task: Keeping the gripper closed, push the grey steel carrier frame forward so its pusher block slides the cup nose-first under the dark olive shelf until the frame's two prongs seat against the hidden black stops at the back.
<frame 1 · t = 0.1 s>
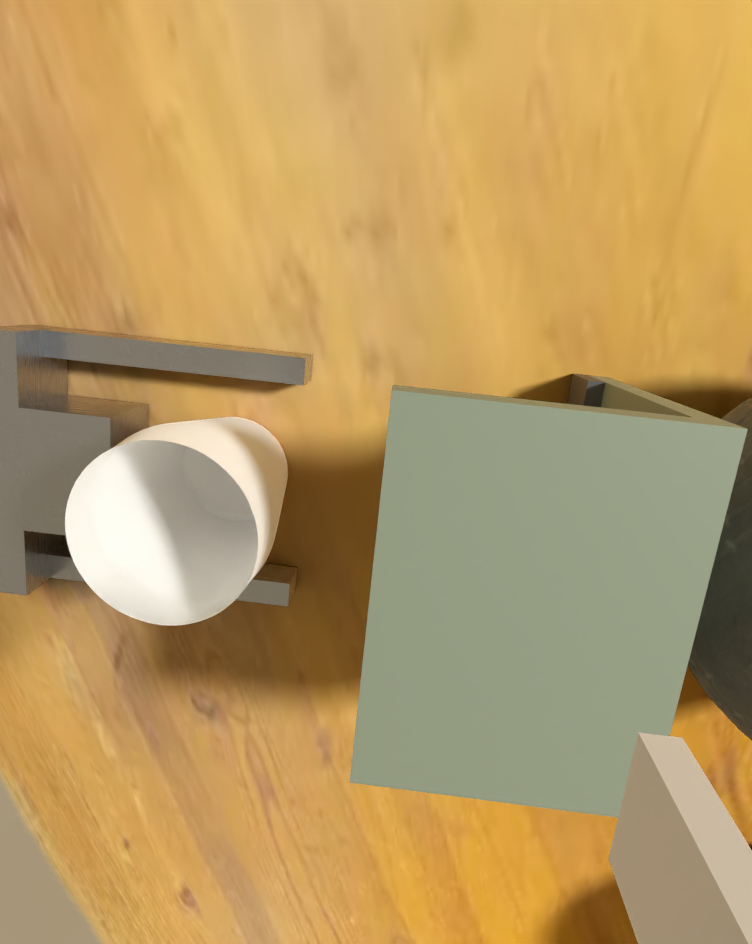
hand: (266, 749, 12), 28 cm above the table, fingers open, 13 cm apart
cup: (236, 468, 40), on the table
frame: (153, 472, 37), point 3 cm above the table, slide at 0.0 cm
shelf: (477, 496, 39), on the table
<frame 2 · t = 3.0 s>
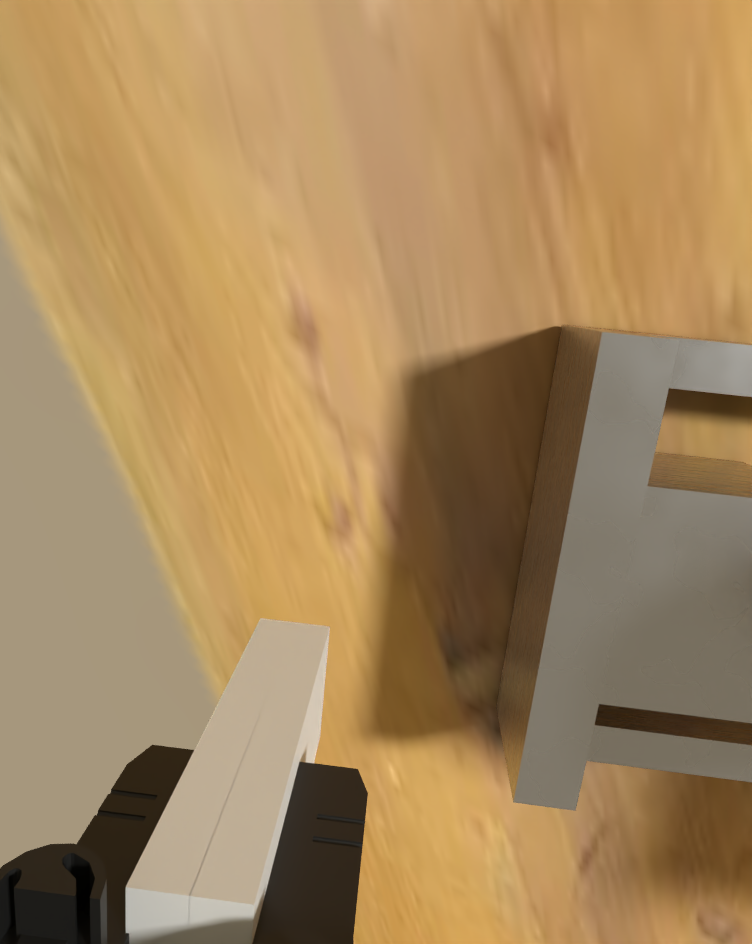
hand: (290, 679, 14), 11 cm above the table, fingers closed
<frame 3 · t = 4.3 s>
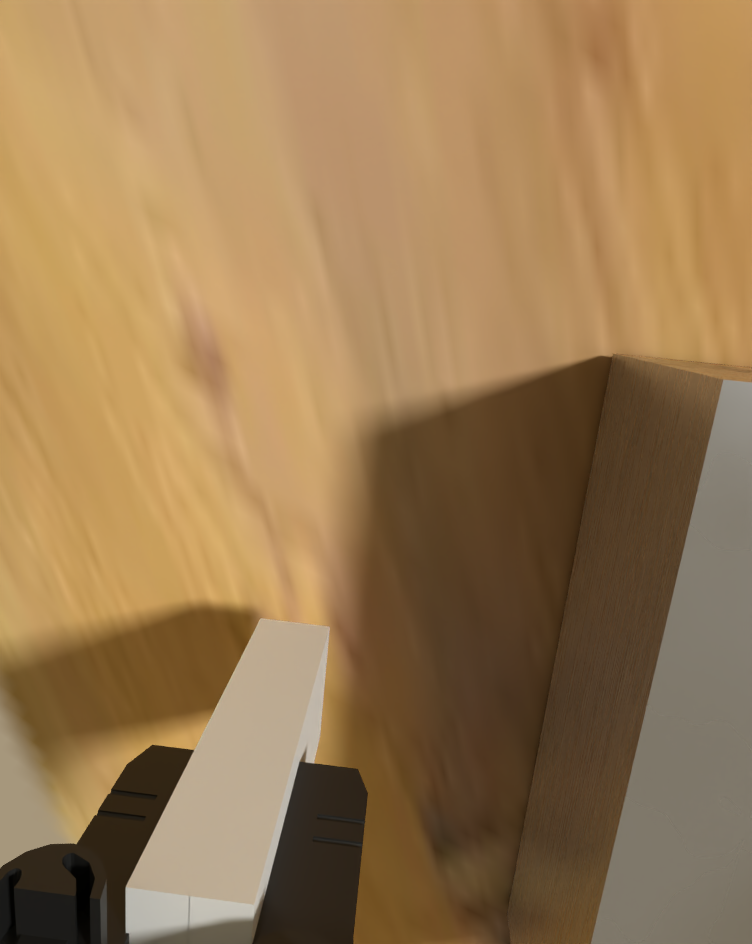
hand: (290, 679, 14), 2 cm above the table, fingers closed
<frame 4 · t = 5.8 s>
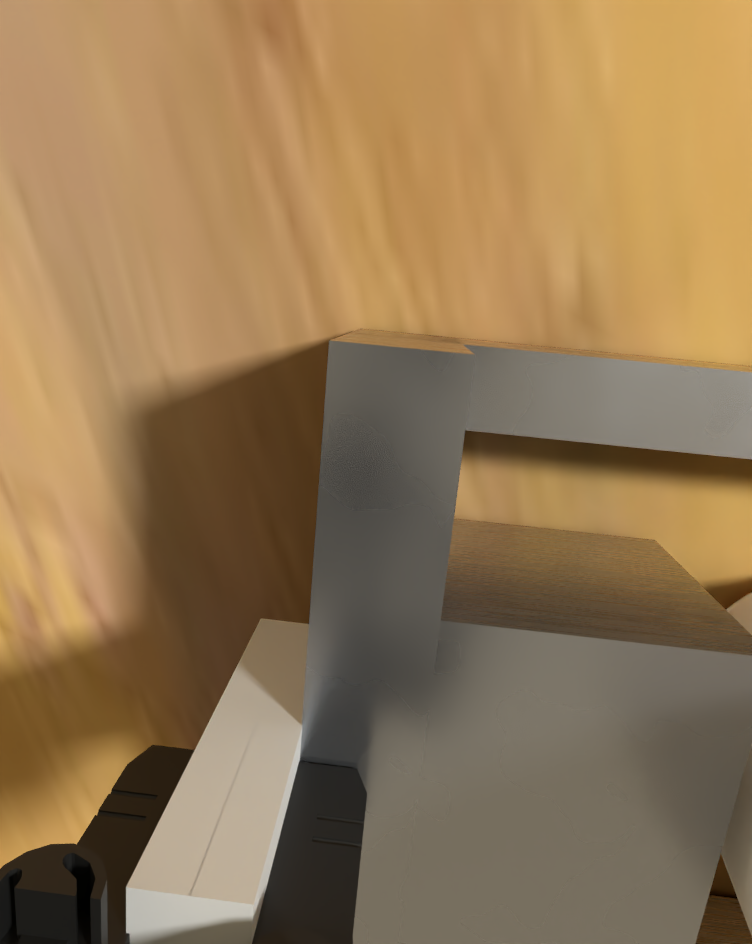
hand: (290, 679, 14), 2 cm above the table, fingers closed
frame: (735, 755, 13), point 3 cm above the table, slide at 1.0 cm, touching gripper
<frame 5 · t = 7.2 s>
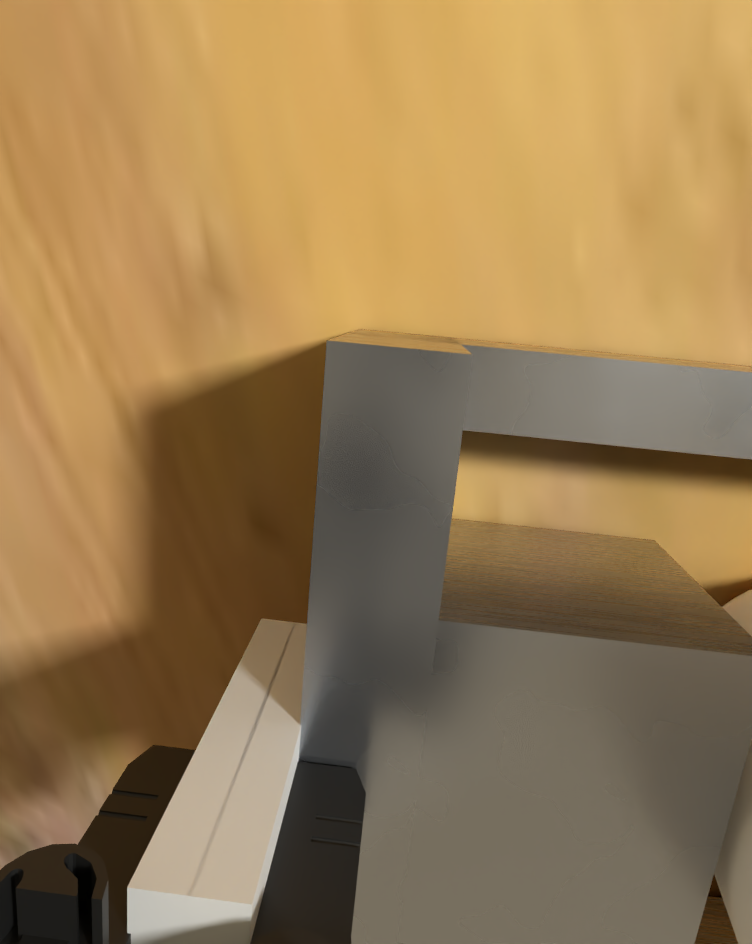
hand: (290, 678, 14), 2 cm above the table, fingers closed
frame: (734, 756, 13), point 3 cm above the table, slide at 8.9 cm, touching cup, gripper
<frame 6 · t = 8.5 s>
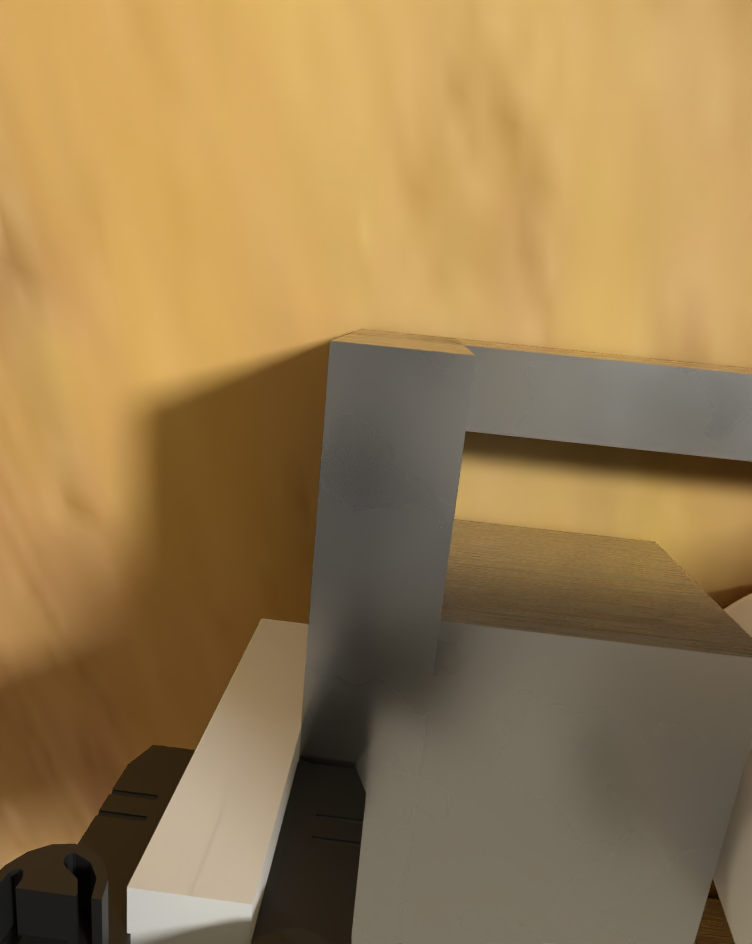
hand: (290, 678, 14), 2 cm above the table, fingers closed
frame: (734, 757, 13), point 3 cm above the table, slide at 13.4 cm, touching cup, gripper
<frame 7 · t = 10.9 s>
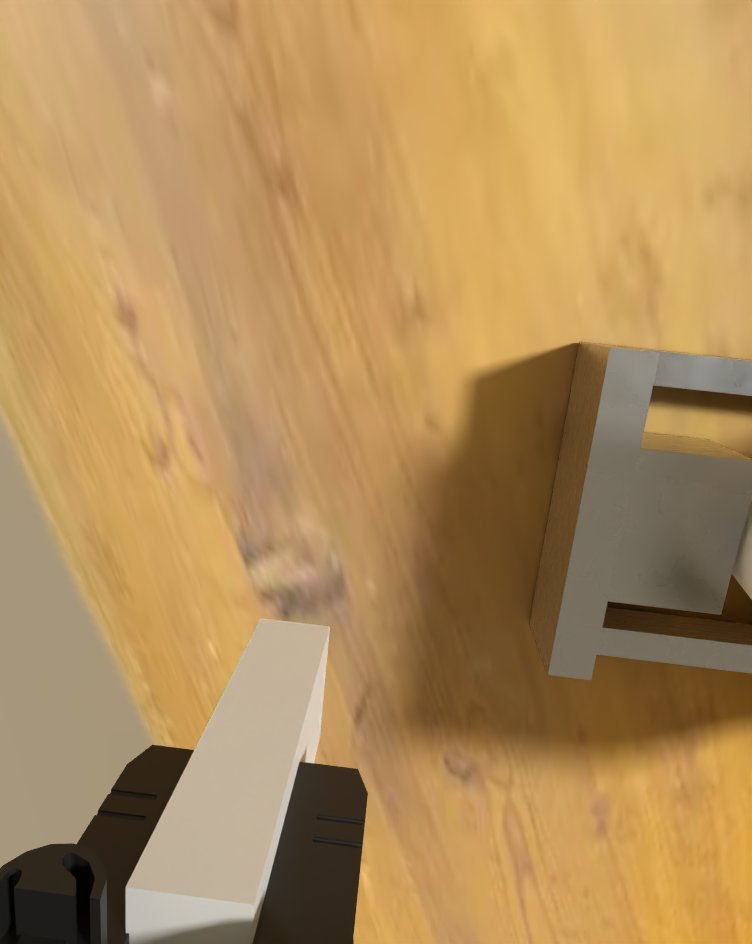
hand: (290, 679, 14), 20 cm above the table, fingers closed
frame: (744, 525, 30), point 3 cm above the table, slide at 13.5 cm, touching cup
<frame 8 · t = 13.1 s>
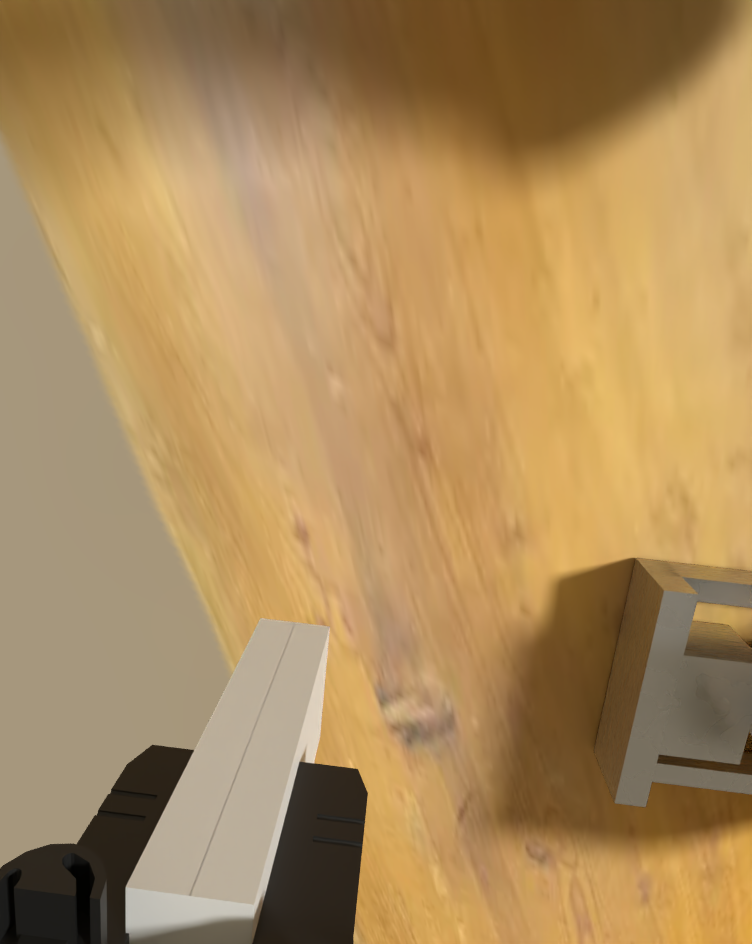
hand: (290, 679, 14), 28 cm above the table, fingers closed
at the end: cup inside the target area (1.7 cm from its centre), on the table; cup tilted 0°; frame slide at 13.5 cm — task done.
